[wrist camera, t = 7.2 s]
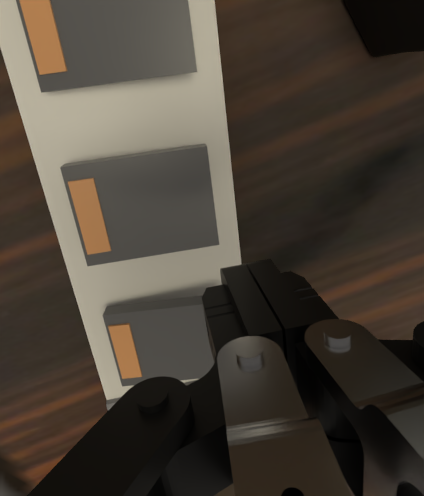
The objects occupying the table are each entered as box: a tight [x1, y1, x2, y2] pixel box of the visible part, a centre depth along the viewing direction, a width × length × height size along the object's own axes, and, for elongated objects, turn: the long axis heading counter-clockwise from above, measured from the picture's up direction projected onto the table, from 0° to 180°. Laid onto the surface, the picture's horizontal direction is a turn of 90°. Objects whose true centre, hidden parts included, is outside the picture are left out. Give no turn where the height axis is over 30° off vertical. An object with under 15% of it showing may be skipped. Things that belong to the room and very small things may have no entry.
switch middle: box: [60, 143, 219, 266], centre depth 20 cm, size 5×7×1 cm
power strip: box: [0, 0, 241, 410], centre depth 22 cm, size 30×10×3 cm, turn 7°
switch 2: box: [103, 295, 214, 386], centre depth 23 cm, size 5×7×1 cm
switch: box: [16, 0, 197, 93], centre depth 16 cm, size 5×7×1 cm
